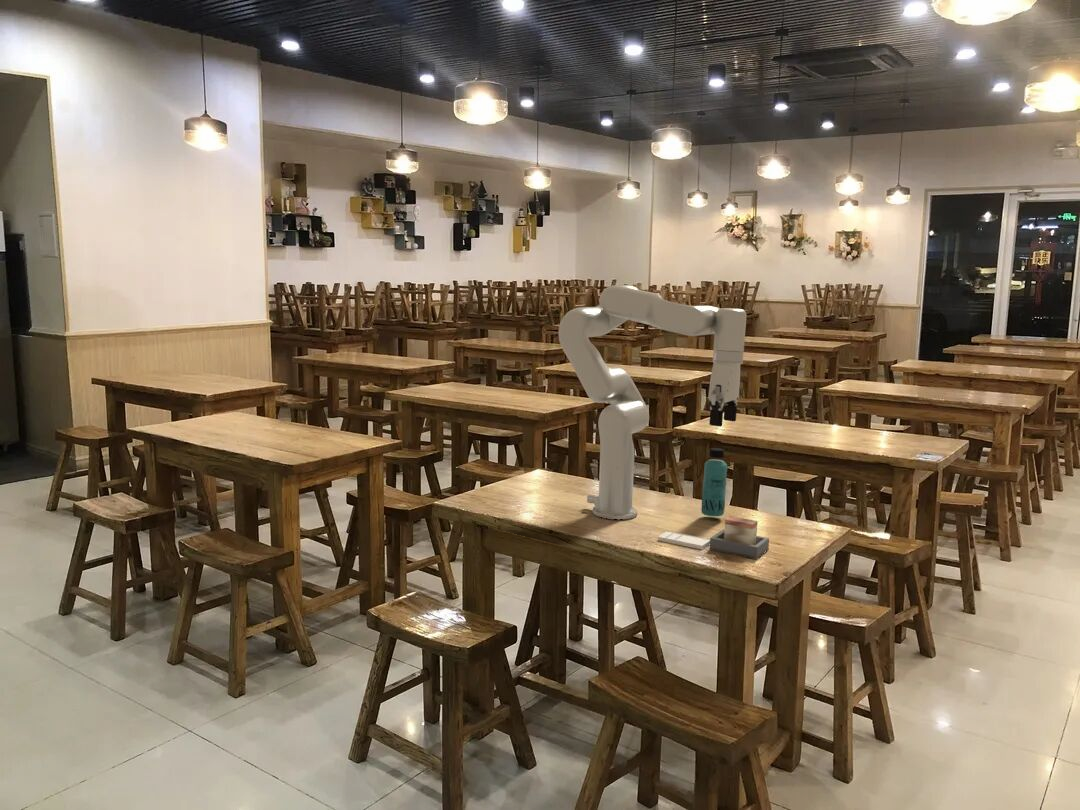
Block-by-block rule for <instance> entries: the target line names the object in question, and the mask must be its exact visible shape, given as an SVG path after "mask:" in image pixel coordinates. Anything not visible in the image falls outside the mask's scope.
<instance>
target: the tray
mask: <svg viewBox="0 0 1080 810" xmlns="http://www.w3.org/2000/svg"><path fill="white" fill-rule="evenodd" d="M724 532H725V528H724V529H722V530H720V531H719V532H717V533H715V534H714V535H712V536H711V537H710V538H709V539H710V545H709V550H710V551H715V552H718V551H719V552H718V553H723V552H724V554H728V553H730V554H729V555H733V554H735V555H734V556H738V555H740V556H739V557H743V556H745V557H744V558H747V557H749V558H748V559H752V558H755V559H754V560H758V559H759V558H760V557H762V556H763V555H764V554H765V553H766V552H767V550H768V551H769V548H770V547H769V546H770V538H769V537H766V536H761V535H756V545H755V546H754V545H749V544H744V543H739V542H734V541H729V540H724ZM765 551H766V552H765ZM764 552H765V553H764ZM763 553H764V554H763ZM762 554H763V555H762ZM761 555H762V556H761ZM757 558H758V559H757Z"/></svg>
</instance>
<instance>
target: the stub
mask: <svg viewBox="0 0 1080 810" xmlns="http://www.w3.org/2000/svg"><path fill="white" fill-rule="evenodd" d="M758 523H759V521H758V520H754V519H748V518H743V517H738V516H737V517H736V516H732V515H729V516H728V517H726V518H725V519H724V530H725V532H724V540H729V541H734V542H739V543H744V544H749V545H754V546H755V545H756V536H758V535H757V532H758V531H757V530H758Z"/></svg>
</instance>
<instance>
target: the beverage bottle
mask: <svg viewBox="0 0 1080 810" xmlns="http://www.w3.org/2000/svg"><path fill="white" fill-rule="evenodd" d="M708 456H709V457H710V458H711V459H708V460H707V461H706V462H705V463H704V471H703V481H702V482H703V484H702V492H701V494H702V496H701V509H700V510H701V514H703V515H704V516H706V517H707V516H708V517H723V515H724V513H725V509H726V508H725V507H726V505H725V504H726V493H727V488H726V487H727V473H728V464H727V463H726V462H725V461H724V460H722V459H720V458H724V457H725V450H724V449H723V448H721V447H720V448H719V447H712V448H710V449H709V453H708ZM712 458H713V459H712ZM714 458H716V459H714ZM718 458H719V459H718Z"/></svg>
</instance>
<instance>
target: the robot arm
mask: <svg viewBox="0 0 1080 810" xmlns="http://www.w3.org/2000/svg"><path fill="white" fill-rule="evenodd" d="M598 301H599V304H598V305H596V306H584V307H583V306H581V307H576V308H572V309H571V310H569V311H568V312H566V314H564V315H563V317H562V319H561V321H560V323H559V327H558V340H559V344H560V347H561V348H562V350H563V353H564V355H566V357H567V358H566V359H568V360H569V363H570V364H571V366H572V368H573V371H574V372H575V374H576V375H577V379H578V380H579V382H580V383H581V385H582V387H583V389H584V390H585V392H586V395H587V397H588V398H589V400H591V401H592V402H594V403H598V404H601V403H602V404H603V403H607V402H608V403H610V404H609V405H607V406H606V407H604V409H603V410H602V411H601V413H600V414H599V417H598V421H597V422H598V423H597V424H598V425H597V427H598V433H599V443H600V444H599V446H600V447H599V451H600V453H599V476H598V477H599V478H598V479H599V481H598V483H599V484H598V494H597V495H595V494H590V493H589V494H588V495H587V497H586V502H587V503H589V504H593V505H594V506H593V507H592V511H591V513H592V514H593V515H594V516H596V517H598V518H601V517H602V519H606V518H607V520H614V519H617V520H618V521H619V520H620V519H623V520H630V519H634V518H635V517H637V516H638V509H636V508H635V507H633V495H634V493H633V492H634V473H635V472H634V470H635V469H634V468H635V445H634V440H633V434H637V433H640V432H641V431H643V430H644V429H645V428H646V427H647V426H648V424H649V421H650V414H649V413H650V412H649V409H648V406H647V404H646V402H645V401H644V400H645V399H643V397H642V395H641V393H640V391H639V390H638V388H637V386H636V384H635V383H634V381H633V379H632V377H631V376H630V374H628V372H626V371H625V370H624V369H623V368H620V367H615V366H608V365H607V364H606V362H605V361H604V359H603V357H602V355H601V353H600V352H599V350H598V349H597V347H596V346H595V345H594V344H593V343H592V342H591V341H590V339H589V338H594V337H602V336H605V335H607V334H608V333H610V332H612V331H614V330H615V329H617V328H618V327H620V326H621V325H622V324H625V322H627V321H633V322H636V323H641V324H645V325H649V326H651V327H654V328H657V329H660V330H662V331H663V330H664V331H666V332H671V333H676V334H678V335H679V334H680V335H683V336H690V337H697V336H706V335H714V336H713V337H714V341H713V353H712V363H713V364H712V369H711V372H710V374H711V375H710V379H709V380H710V381H709V387H708V388H709V389H708V397H707V398H708V401H710V402H709V404H710V406H709V410H710V412H709V413H710V414H709V426H712V427H713V426H714V427H723V420H724V421H726V422H727V421H728V422H736V421H737V411H738V404H739V403H738V399H739V395H740V385H741V365H743V363H744V351H745V340H746V326H747V312H746V311H745V310H744V309H741V308H734V307H733V308H730V307H727V308H726V307H724V308H723V307H722V308H720V307H716V306H713V305H690V304H689V305H688V304H682V303H678V302H674V301H669V300H666V299H664V298H663V297H662V296H661V294H660V293H657V292H650V291H646V290H645V291H644V290H641V289H638V288H637V287H636V286H633V285H630V284H629V285H627V284H625V285H623V284H615V285H610V286H608V287H606V288H605V289H603V290H602V292H601V294H600V297H599V300H598ZM723 408H724V410H723Z"/></svg>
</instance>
